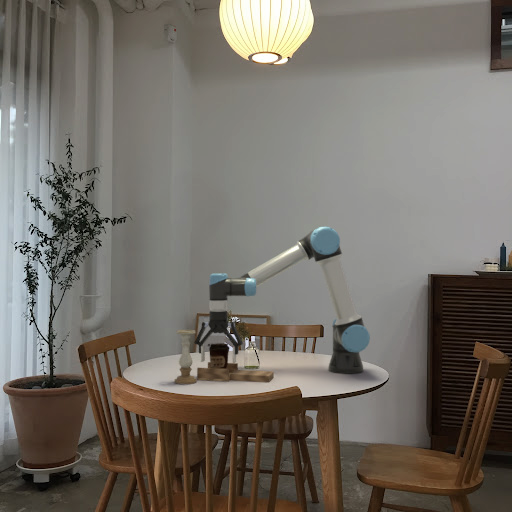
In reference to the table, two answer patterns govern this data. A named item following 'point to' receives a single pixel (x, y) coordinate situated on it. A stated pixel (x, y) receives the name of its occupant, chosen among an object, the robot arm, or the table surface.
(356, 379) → the table surface
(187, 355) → the candle holder
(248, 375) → the wooden stepped block
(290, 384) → the table surface
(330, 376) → the table surface
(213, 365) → the coffee cup
